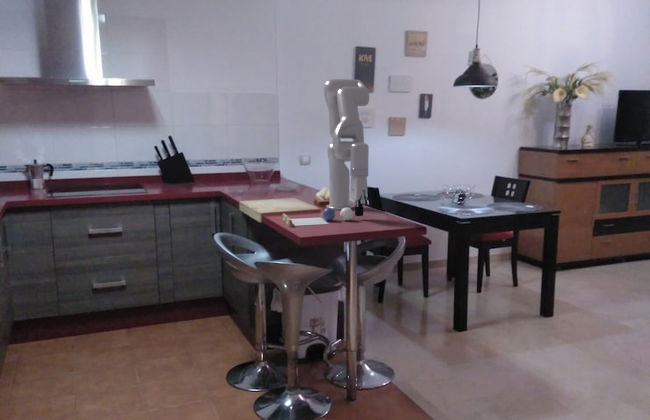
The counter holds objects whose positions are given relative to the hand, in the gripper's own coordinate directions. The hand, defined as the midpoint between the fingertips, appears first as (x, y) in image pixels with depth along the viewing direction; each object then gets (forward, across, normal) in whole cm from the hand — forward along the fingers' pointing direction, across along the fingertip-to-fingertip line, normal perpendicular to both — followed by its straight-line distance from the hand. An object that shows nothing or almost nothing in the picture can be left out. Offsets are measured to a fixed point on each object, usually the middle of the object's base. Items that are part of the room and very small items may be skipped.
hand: (359, 215), depth 228 cm
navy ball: (-1, 0, -13) cm, 13 cm away
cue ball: (-1, +1, -6) cm, 6 cm away
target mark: (+2, 0, -22) cm, 22 cm away
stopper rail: (+2, 0, -31) cm, 31 cm away
